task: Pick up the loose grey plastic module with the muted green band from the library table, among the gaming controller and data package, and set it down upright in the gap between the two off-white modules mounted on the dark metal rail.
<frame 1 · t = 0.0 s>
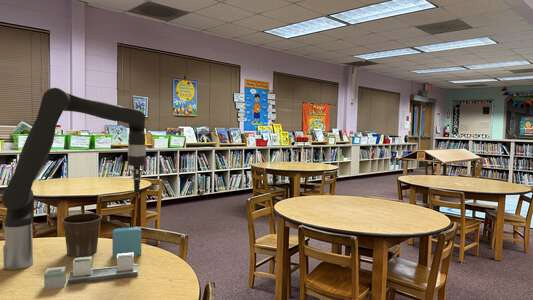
hand: (136, 190, 158), 29 cm above the table, fingers open, 8 cm apart
plant pot: (82, 253, 160), on the table
data package: (127, 255, 159), on the table
rail: (104, 276, 136), on the table
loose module: (55, 285, 127), on the table
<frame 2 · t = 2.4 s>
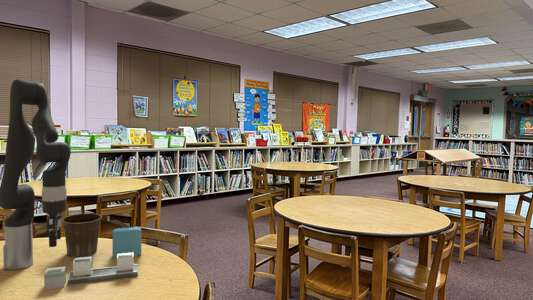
hand: (55, 242, 126), 16 cm above the table, fingers open, 8 cm apart
nothing on the table moved.
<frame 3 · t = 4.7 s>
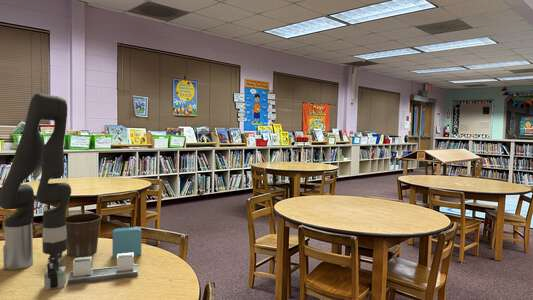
hand: (55, 284, 127), 1 cm above the table, fingers closed on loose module, 4 cm apart
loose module: (55, 285, 127), on the table, touching gripper
everything else where it was.
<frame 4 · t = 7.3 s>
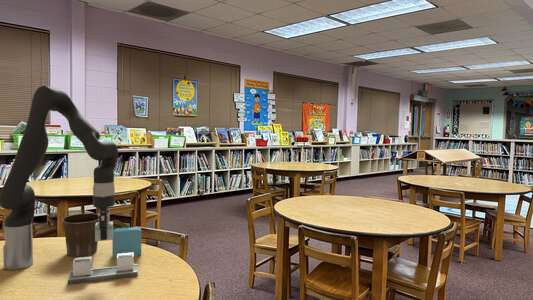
hand: (104, 237, 135), 15 cm above the table, fingers closed on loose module, 4 cm apart
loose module: (104, 238, 135), point 15 cm above the table, touching gripper
everything else where it was.
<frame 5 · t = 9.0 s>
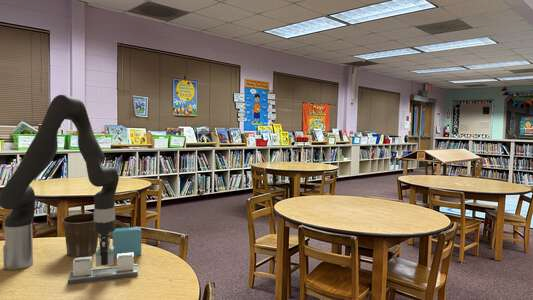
hand: (104, 262, 136), 6 cm above the table, fingers closed on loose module, 4 cm apart
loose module: (105, 263, 136), point 5 cm above the table, touching gripper
everything else where it was.
when the fingers open (3 cm above the table, at t = 10.3 s): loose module drops 1 cm, resting on rail.
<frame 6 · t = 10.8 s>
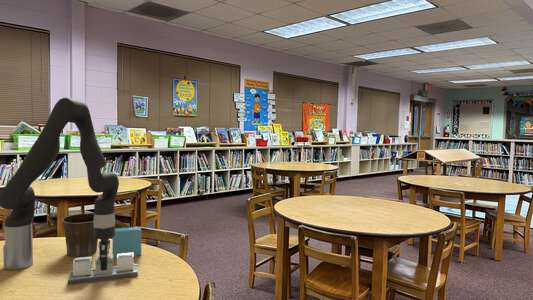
hand: (104, 265, 136), 4 cm above the table, fingers open, 8 cm apart
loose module: (104, 272, 136), point 1 cm above the table, touching rail
everything else where it was.
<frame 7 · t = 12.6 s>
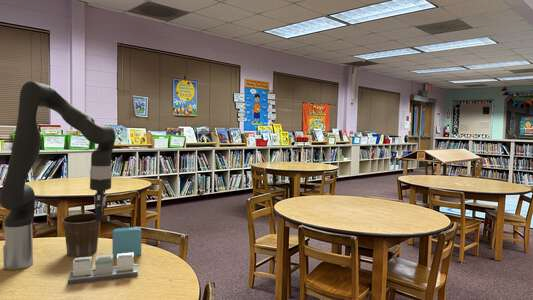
hand: (100, 217, 138), 22 cm above the table, fingers open, 8 cm apart
nothing on the table moved.
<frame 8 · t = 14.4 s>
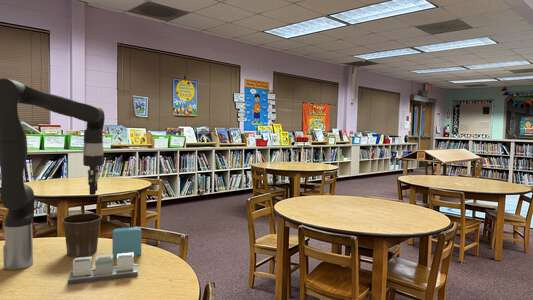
hand: (93, 192, 146), 30 cm above the table, fingers open, 8 cm apart
nothing on the table moved.
at the end: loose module 0.1 cm off-centre on the rail, point 1.5 cm above the rail's base; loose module tilted 0°; the gripper is holding nothing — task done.
